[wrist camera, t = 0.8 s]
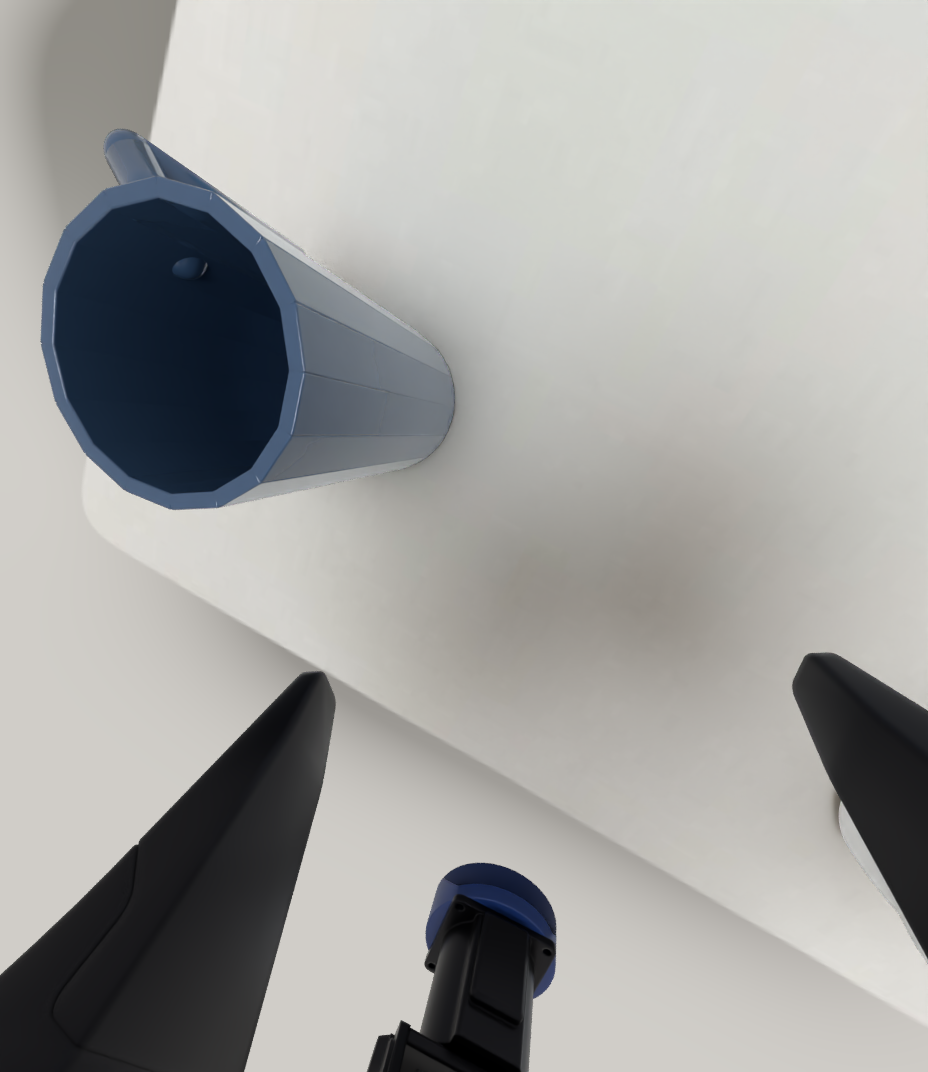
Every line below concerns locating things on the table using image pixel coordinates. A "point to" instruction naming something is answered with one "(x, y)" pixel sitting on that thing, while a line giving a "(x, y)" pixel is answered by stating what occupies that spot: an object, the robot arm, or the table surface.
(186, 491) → the mug
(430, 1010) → the robot arm
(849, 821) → the water bottle
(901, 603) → the table surface
